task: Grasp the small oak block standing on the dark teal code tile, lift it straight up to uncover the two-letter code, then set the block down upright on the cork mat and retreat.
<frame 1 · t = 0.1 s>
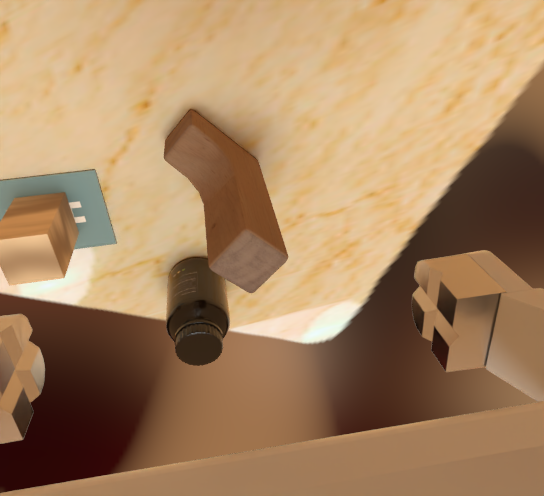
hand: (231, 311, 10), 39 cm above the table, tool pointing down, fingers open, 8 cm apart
code tile: (48, 215, 50), on the table
supplement bottle: (196, 277, 58), on the table
oak block: (47, 216, 50), resting on code tile
wooden block: (212, 150, 49), on the table
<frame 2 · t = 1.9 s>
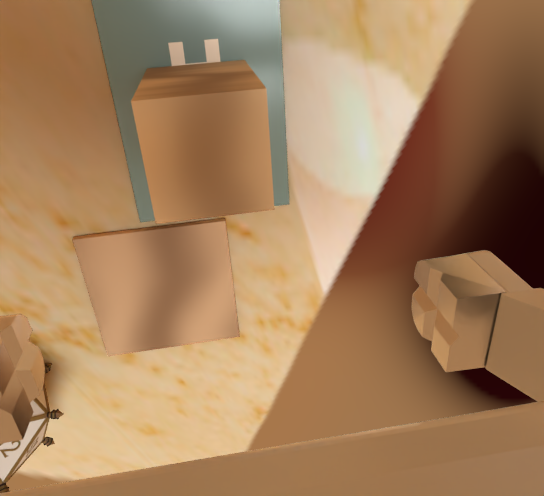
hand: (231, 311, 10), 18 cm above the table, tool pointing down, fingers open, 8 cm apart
code tile: (202, 111, 26), on the table
game die: (7, 370, 32), on the table
oak block: (202, 112, 26), resting on code tile
cork mat: (163, 289, 31), on the table
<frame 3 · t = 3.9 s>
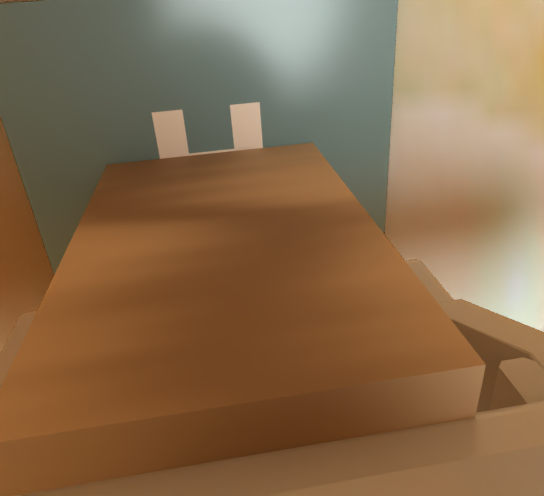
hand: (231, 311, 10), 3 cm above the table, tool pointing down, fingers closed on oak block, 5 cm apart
code tile: (223, 239, 13), on the table
oak block: (223, 243, 13), resting on code tile, touching gripper
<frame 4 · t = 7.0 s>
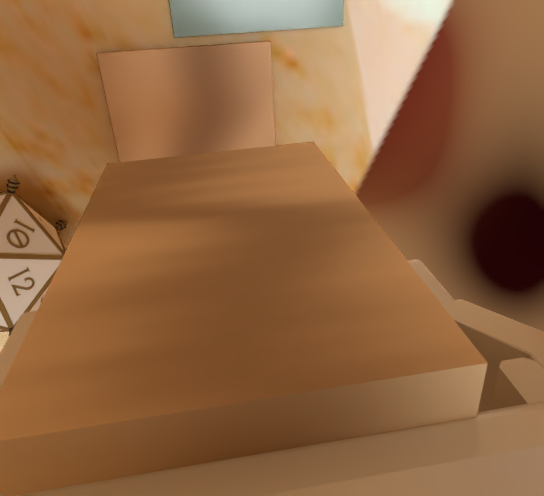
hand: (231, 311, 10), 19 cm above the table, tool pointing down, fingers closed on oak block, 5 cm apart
game die: (17, 228, 29), on the table
oak block: (224, 242, 13), point 16 cm above the table, touching gripper
cork mat: (196, 131, 27), on the table
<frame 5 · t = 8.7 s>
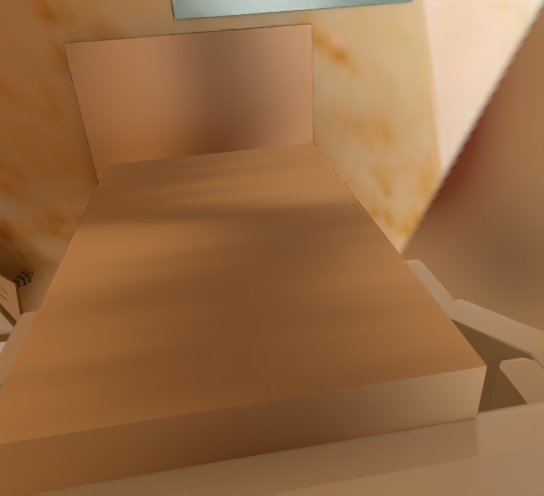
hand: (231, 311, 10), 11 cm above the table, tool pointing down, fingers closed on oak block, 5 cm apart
oak block: (223, 243, 13), point 8 cm above the table, touching gripper
cork mat: (206, 150, 20), on the table
when the fingers open (5 cm above the table, at t = 10.3 s): oak block drops 1 cm, resting on cork mat.
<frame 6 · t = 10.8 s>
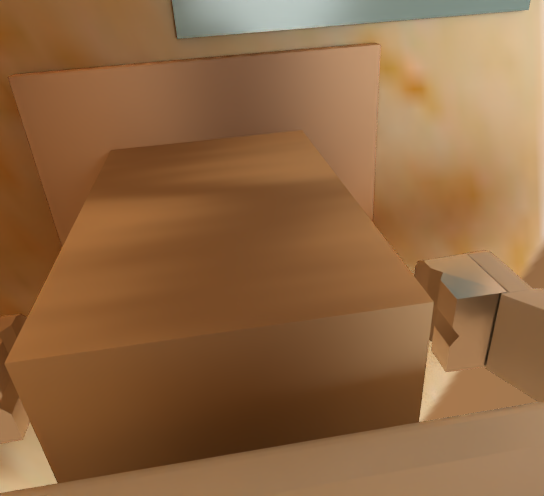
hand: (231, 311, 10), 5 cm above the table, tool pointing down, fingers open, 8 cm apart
oak block: (219, 225, 14), resting on cork mat
cork mat: (221, 220, 14), on the table
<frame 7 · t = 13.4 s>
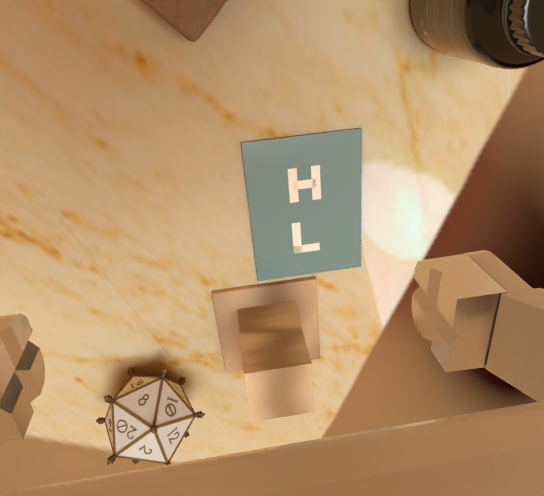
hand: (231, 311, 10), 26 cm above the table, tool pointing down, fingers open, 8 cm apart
code tile: (305, 209, 38), on the table
game die: (153, 382, 45), on the table
oak block: (268, 327, 43), resting on cork mat
cork mat: (268, 325, 43), on the table
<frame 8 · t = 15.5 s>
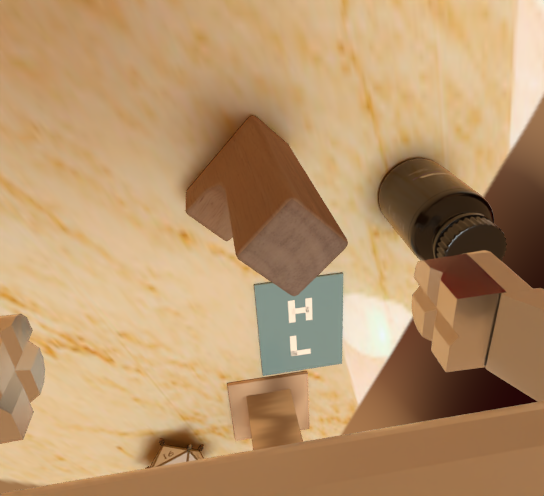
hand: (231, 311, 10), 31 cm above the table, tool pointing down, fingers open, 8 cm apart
code tile: (300, 326, 50), on the table
game die: (178, 448, 57), on the table
supplement bottle: (409, 190, 45), on the table
oak block: (269, 408, 55), resting on cork mat
cork mat: (269, 405, 55), on the table
wooden block: (237, 168, 41), on the table
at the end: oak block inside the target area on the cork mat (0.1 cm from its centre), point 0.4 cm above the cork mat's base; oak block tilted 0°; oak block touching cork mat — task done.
